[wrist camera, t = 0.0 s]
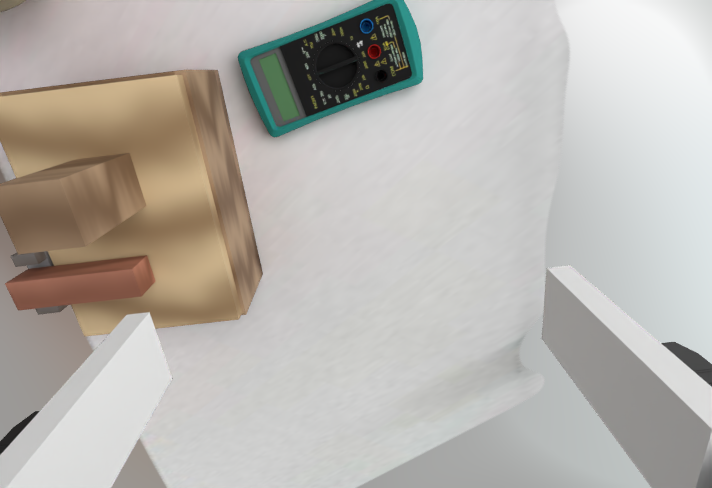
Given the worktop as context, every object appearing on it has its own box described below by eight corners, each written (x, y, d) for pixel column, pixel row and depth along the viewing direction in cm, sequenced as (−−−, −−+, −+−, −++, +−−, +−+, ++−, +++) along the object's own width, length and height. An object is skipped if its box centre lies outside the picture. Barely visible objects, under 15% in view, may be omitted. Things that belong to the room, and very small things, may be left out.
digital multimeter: (425, 79, 38) (431, 79, 35) (273, 136, 39) (268, 140, 37) (401, -9, 35) (406, -17, 32) (239, 55, 37) (231, 53, 34)
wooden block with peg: (-5, 97, 30) (-146, 108, 21) (182, 74, 29) (115, 76, 21) (92, 328, 37) (16, 405, 28) (242, 311, 37) (210, 384, 28)
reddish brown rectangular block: (28, 268, 33) (4, 283, 31) (147, 255, 33) (132, 269, 31) (40, 294, 34) (18, 310, 32) (155, 281, 34) (141, 296, 31)
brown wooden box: (41, 92, 37) (-64, 98, 28) (217, 70, 37) (173, 69, 27) (116, 290, 45) (54, 349, 35) (262, 273, 44) (240, 328, 35)
